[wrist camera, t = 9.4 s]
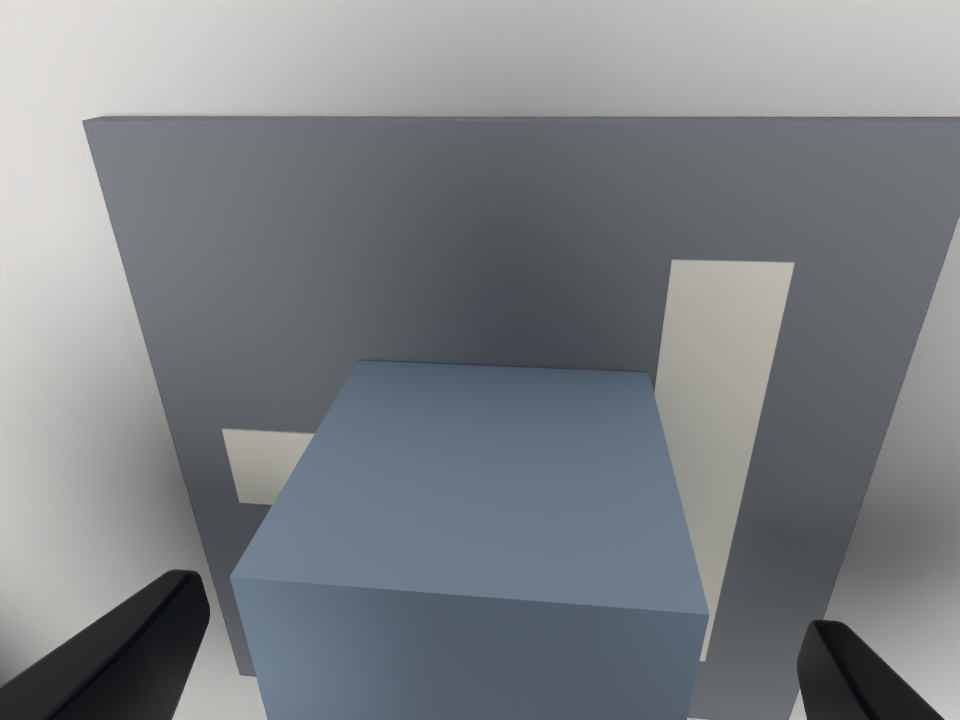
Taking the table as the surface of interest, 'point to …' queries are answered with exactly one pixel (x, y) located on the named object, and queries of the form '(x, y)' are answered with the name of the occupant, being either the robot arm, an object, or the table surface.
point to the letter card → (553, 311)
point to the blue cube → (477, 554)
